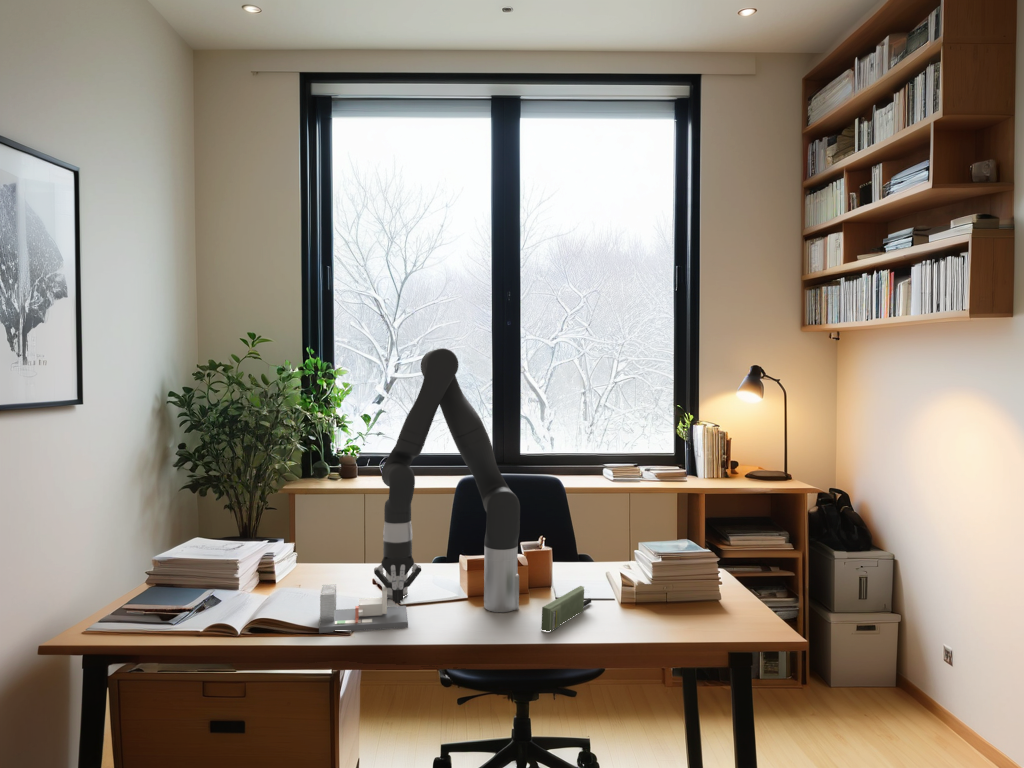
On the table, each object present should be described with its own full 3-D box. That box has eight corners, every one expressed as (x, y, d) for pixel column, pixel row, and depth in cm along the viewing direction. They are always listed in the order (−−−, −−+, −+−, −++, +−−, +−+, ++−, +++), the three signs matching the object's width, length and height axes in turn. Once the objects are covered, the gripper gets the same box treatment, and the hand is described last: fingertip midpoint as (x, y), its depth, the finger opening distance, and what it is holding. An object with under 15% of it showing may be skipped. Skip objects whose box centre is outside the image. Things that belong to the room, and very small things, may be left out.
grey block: (336, 610, 187) (336, 584, 187) (334, 621, 179) (334, 594, 179) (322, 611, 186) (322, 584, 186) (320, 622, 178) (320, 594, 178)
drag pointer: (358, 617, 181) (358, 605, 181) (358, 623, 177) (358, 611, 177) (355, 617, 181) (355, 606, 181) (354, 623, 177) (355, 611, 177)
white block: (386, 607, 188) (386, 583, 188) (386, 617, 181) (387, 593, 181) (359, 609, 187) (359, 585, 187) (358, 619, 179) (358, 594, 179)
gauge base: (406, 611, 191) (406, 604, 191) (407, 627, 179) (408, 620, 179) (322, 615, 187) (322, 609, 187) (319, 633, 175) (319, 626, 175)
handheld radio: (538, 631, 178) (583, 603, 199) (550, 635, 176) (594, 606, 197) (540, 606, 178) (585, 580, 199) (551, 609, 176) (595, 583, 197)
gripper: (422, 533, 190) (421, 596, 191) (372, 535, 188) (372, 599, 188) (423, 540, 183) (423, 605, 183) (372, 542, 180) (372, 608, 181)
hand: (397, 602), depth 186 cm, fingers closed
